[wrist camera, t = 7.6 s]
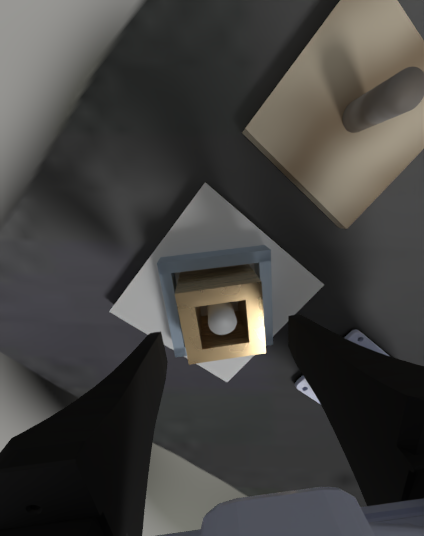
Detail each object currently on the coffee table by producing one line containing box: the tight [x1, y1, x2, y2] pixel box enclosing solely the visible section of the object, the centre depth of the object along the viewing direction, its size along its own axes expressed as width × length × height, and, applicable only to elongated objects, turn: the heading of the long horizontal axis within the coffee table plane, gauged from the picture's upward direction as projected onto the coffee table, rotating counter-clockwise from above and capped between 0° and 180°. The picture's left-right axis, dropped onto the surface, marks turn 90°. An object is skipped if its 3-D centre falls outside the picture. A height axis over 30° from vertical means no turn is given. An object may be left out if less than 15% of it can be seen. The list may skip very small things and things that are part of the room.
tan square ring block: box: [175, 264, 266, 365], centre depth 15 cm, size 5×5×4 cm
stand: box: [242, 0, 424, 229], centre depth 12 cm, size 10×10×4 cm
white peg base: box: [109, 183, 324, 382], centre depth 16 cm, size 12×12×4 cm
